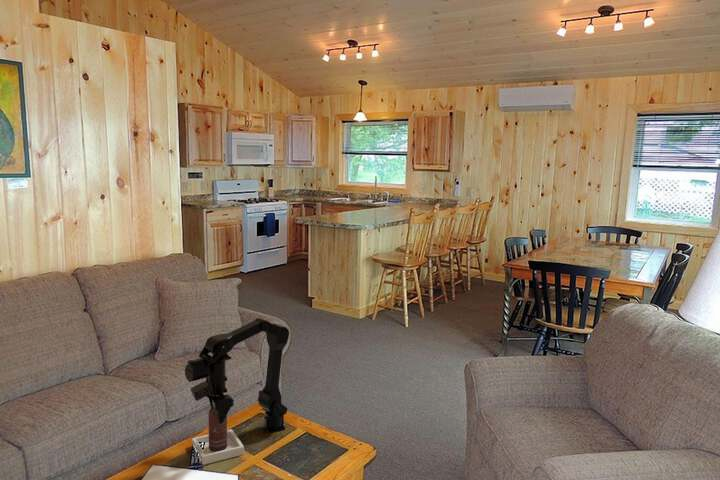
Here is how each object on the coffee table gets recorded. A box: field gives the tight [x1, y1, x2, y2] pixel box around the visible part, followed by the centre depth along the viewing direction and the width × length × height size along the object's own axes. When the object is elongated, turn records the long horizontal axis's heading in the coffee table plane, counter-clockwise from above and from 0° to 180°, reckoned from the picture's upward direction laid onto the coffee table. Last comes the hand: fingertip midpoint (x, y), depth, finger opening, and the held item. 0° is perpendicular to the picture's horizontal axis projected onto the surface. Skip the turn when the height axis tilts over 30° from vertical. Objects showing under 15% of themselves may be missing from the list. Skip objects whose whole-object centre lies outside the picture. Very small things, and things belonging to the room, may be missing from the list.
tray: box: [191, 429, 245, 466], centre depth 181 cm, size 14×14×3 cm
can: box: [207, 407, 228, 452], centre depth 180 cm, size 6×6×14 cm
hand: (217, 417), depth 180 cm, fingers open, 9 cm apart
